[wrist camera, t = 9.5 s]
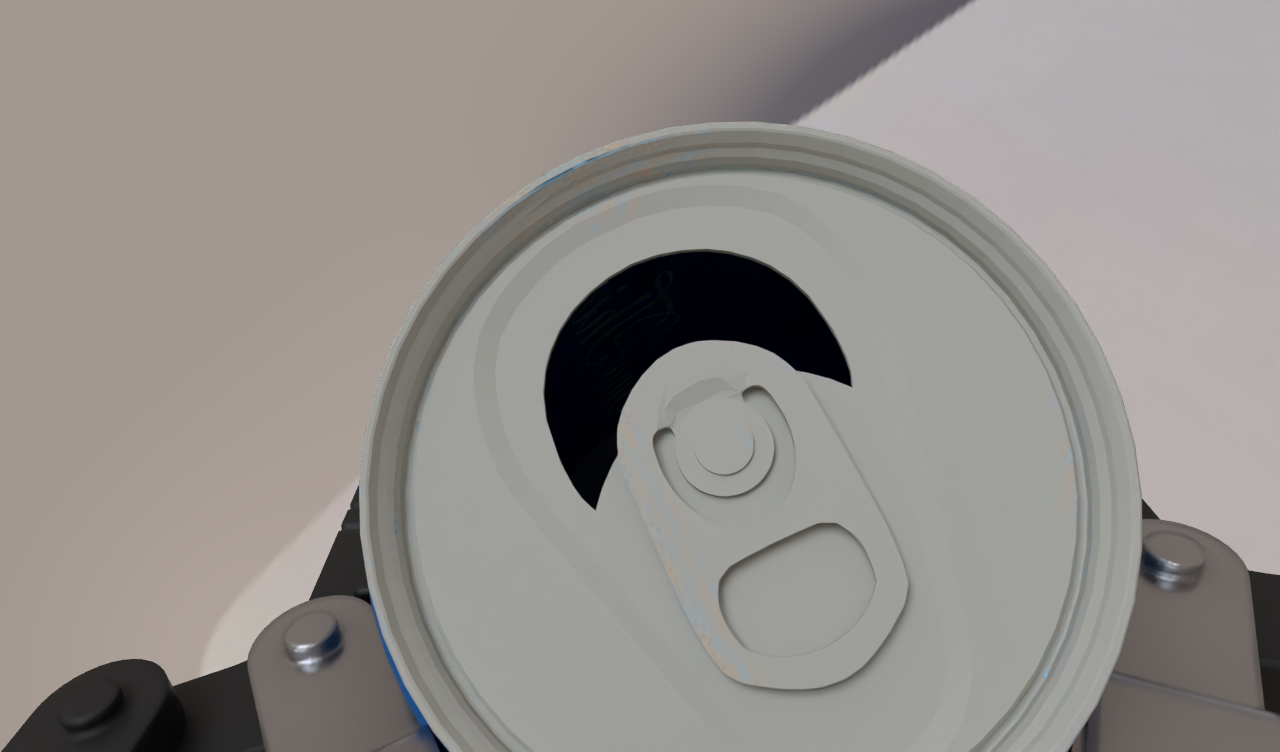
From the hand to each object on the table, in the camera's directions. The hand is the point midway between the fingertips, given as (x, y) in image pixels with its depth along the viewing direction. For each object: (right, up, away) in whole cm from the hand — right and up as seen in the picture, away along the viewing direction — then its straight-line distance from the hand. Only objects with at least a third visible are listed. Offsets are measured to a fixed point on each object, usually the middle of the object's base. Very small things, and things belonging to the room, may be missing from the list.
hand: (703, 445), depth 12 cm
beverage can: (0, -3, +5) cm, 6 cm away
